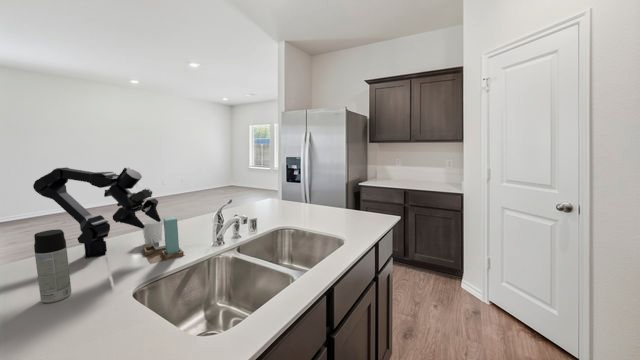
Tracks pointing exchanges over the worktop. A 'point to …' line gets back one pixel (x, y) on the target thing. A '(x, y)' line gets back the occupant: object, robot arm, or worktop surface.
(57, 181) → the robot arm
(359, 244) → the worktop surface
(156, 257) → the board
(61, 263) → the spray can
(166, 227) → the block
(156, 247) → the lid
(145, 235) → the white cup
